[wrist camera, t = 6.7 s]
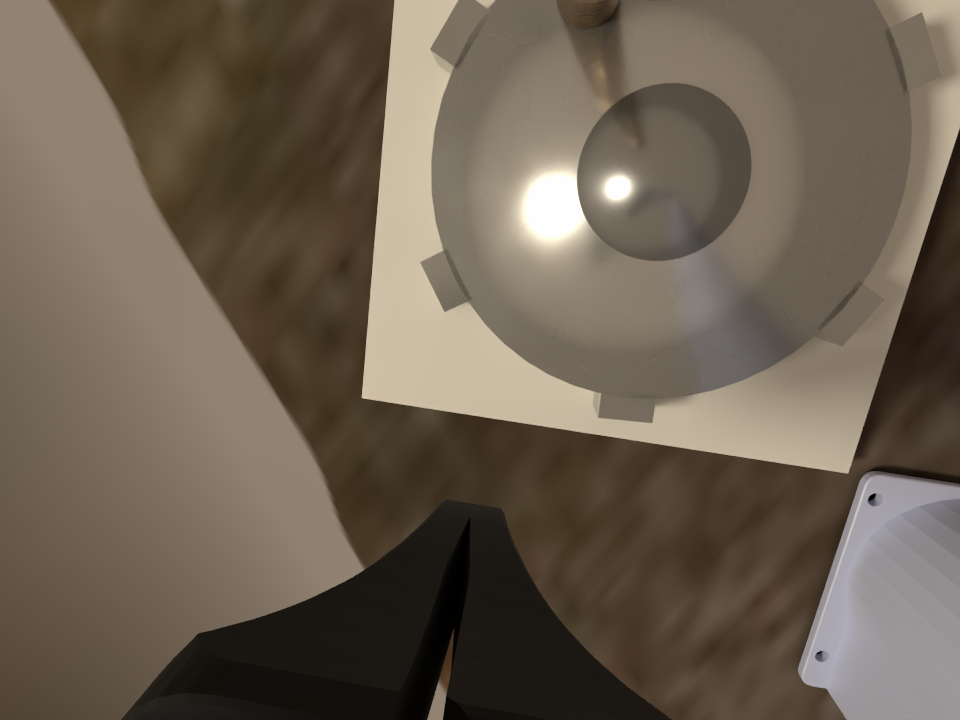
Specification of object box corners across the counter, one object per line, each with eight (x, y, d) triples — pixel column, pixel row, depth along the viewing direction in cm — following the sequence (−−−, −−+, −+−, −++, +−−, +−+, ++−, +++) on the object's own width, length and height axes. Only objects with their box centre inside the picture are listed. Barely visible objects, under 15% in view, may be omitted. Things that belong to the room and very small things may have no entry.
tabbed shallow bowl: (962, 278, 17) (1154, 297, 12) (524, 457, 20) (523, 537, 15) (817, -191, 15) (979, -428, 10) (342, 85, 18) (262, 20, 12)
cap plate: (832, 462, 20) (851, 476, 19) (369, 390, 21) (360, 399, 20) (1006, -90, 16) (1043, -116, 15) (415, -148, 17) (407, -176, 16)
